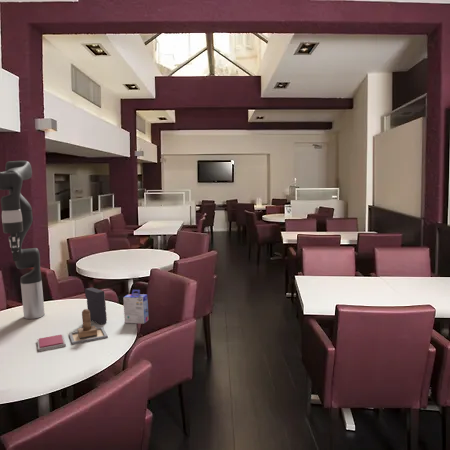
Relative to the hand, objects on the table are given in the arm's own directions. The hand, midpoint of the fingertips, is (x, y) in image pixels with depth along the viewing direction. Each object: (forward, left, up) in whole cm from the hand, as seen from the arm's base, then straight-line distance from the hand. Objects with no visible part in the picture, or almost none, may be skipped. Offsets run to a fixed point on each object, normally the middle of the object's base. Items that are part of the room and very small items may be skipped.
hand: (16, 259), depth 181 cm
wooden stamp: (+16, +24, -33) cm, 44 cm away
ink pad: (+17, +10, -33) cm, 39 cm away
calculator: (-1, +31, -33) cm, 46 cm away
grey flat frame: (+16, +24, -33) cm, 44 cm away
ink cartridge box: (+9, +47, -33) cm, 58 cm away
